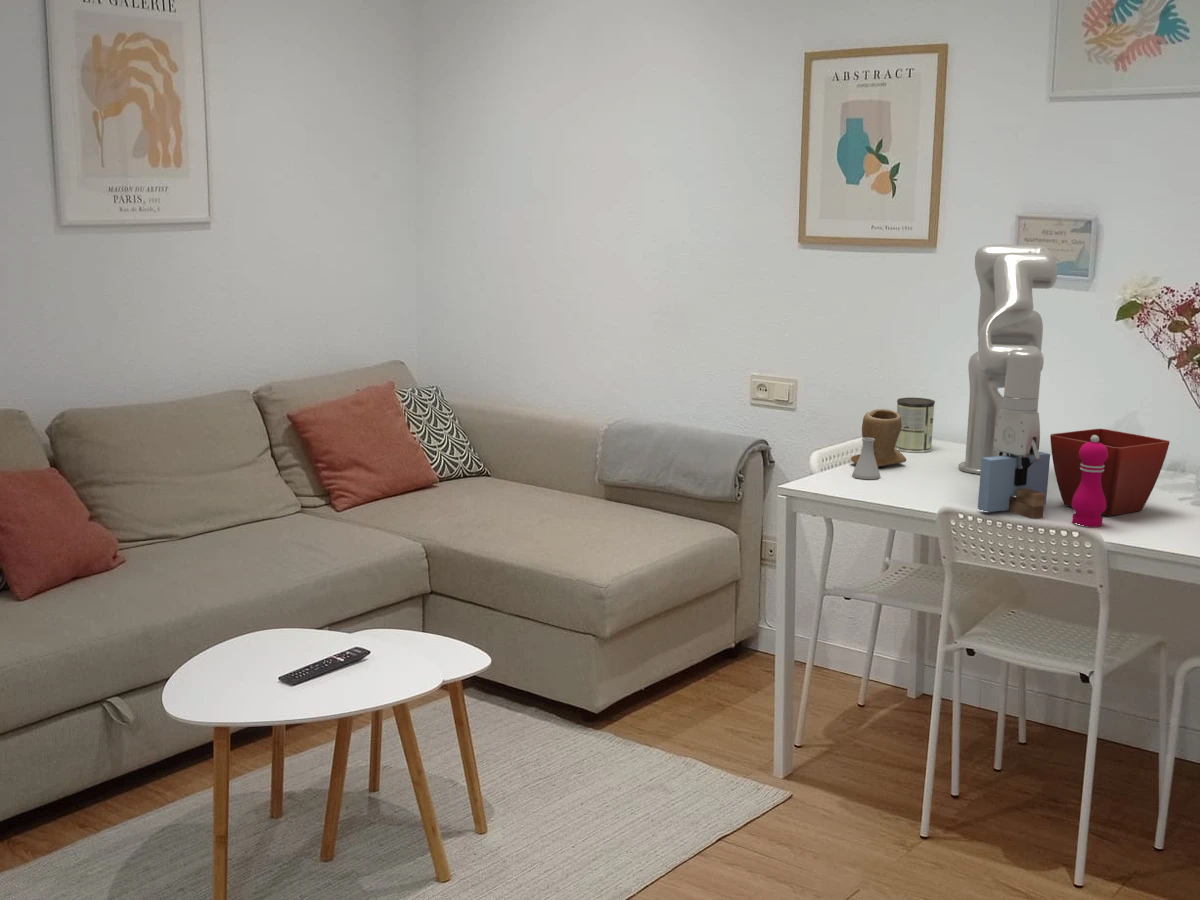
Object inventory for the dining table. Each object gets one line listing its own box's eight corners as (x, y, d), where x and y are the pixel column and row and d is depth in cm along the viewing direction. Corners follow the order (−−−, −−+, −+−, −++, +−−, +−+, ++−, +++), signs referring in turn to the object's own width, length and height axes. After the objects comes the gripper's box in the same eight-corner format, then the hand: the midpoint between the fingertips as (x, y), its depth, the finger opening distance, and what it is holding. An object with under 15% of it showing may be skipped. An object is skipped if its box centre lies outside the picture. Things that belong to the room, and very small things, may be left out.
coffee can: (892, 445, 376) (895, 396, 374) (928, 446, 375) (931, 397, 373) (896, 452, 366) (899, 402, 363) (934, 453, 365) (937, 403, 363)
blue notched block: (986, 512, 296) (990, 460, 294) (977, 509, 299) (981, 457, 297) (1045, 504, 304) (1050, 454, 302) (1036, 501, 307) (1040, 451, 305)
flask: (880, 481, 330) (882, 442, 328) (851, 479, 331) (853, 440, 329) (880, 475, 337) (882, 436, 335) (852, 473, 338) (854, 435, 336)
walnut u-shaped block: (982, 503, 308) (984, 480, 307) (992, 501, 309) (994, 479, 308) (1033, 518, 294) (1035, 494, 293) (1042, 517, 295) (1044, 493, 294)
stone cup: (873, 472, 340) (877, 415, 337) (844, 463, 350) (847, 408, 347) (918, 467, 347) (921, 411, 344) (888, 459, 357) (891, 404, 354)
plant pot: (1094, 495, 318) (1100, 427, 315) (1164, 512, 302) (1172, 440, 299) (1042, 504, 308) (1048, 433, 304) (1111, 522, 292) (1119, 448, 289)
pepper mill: (1064, 519, 294) (1072, 432, 290) (1095, 519, 294) (1103, 432, 290) (1078, 528, 287) (1086, 438, 283) (1110, 527, 287) (1118, 438, 283)
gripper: (982, 399, 302) (976, 477, 306) (1035, 411, 288) (1028, 492, 292) (1007, 398, 306) (1000, 475, 309) (1060, 409, 291) (1053, 489, 295)
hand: (1014, 482), depth 301 cm, fingers closed on blue notched block, 3 cm apart
